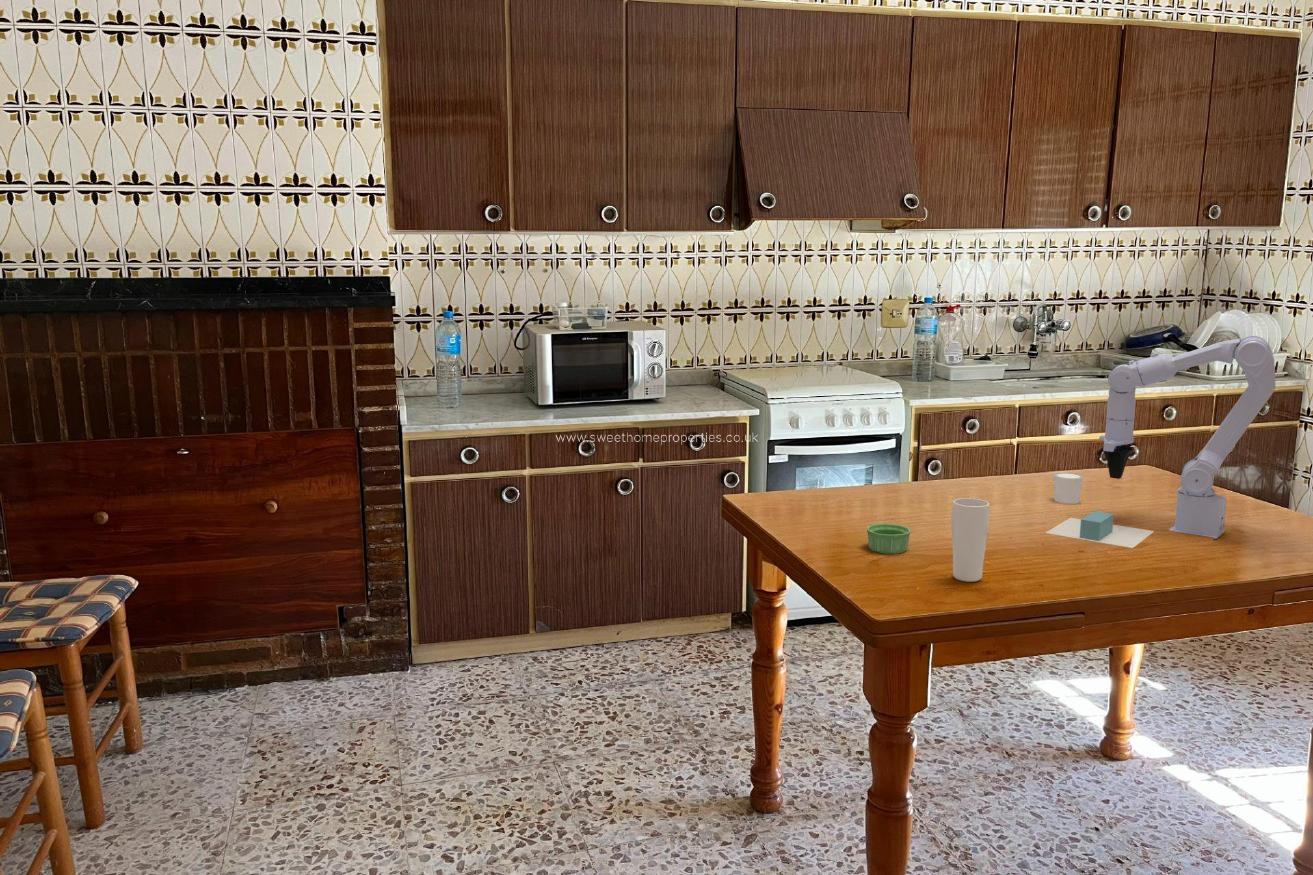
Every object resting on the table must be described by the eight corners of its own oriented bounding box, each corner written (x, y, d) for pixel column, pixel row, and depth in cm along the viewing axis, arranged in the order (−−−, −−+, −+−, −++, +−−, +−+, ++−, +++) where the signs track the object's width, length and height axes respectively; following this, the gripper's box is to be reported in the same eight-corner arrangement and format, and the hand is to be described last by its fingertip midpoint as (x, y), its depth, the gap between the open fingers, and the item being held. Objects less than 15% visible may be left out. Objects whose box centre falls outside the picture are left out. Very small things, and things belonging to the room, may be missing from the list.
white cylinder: (1076, 500, 251) (1078, 472, 250) (1085, 507, 244) (1087, 478, 243) (1048, 499, 252) (1049, 472, 250) (1056, 506, 245) (1057, 478, 244)
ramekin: (915, 546, 214) (916, 526, 213) (902, 557, 207) (903, 537, 206) (874, 540, 219) (874, 521, 218) (860, 551, 211) (860, 531, 210)
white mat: (1154, 533, 221) (1154, 531, 221) (1132, 550, 209) (1132, 547, 209) (1070, 520, 233) (1070, 517, 233) (1045, 535, 221) (1045, 532, 221)
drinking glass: (978, 572, 197) (982, 497, 194) (991, 583, 190) (995, 506, 187) (944, 572, 197) (947, 498, 194) (955, 584, 190) (959, 507, 187)
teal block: (1113, 513, 220) (1100, 522, 214) (1112, 531, 221) (1099, 540, 215) (1094, 510, 223) (1080, 519, 216) (1093, 528, 224) (1079, 537, 217)
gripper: (1111, 412, 234) (1107, 469, 237) (1091, 421, 223) (1086, 481, 226) (1144, 415, 230) (1139, 474, 232) (1124, 424, 219) (1119, 485, 221)
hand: (1115, 477), depth 229 cm, fingers closed
